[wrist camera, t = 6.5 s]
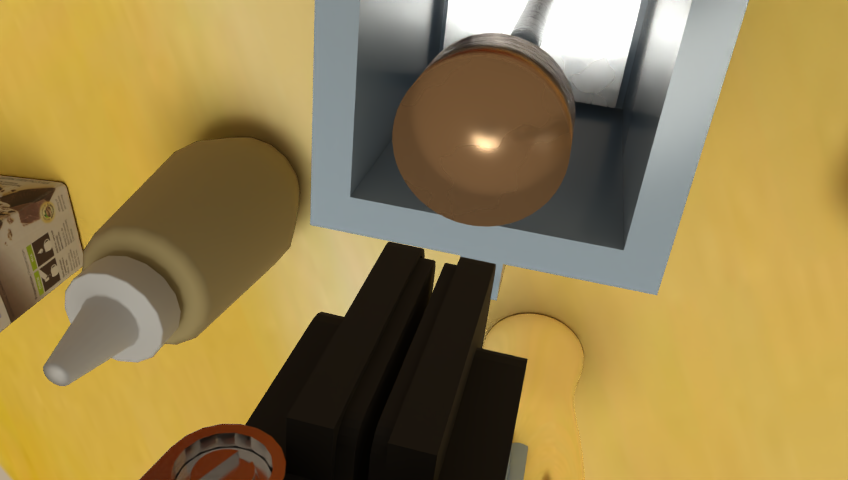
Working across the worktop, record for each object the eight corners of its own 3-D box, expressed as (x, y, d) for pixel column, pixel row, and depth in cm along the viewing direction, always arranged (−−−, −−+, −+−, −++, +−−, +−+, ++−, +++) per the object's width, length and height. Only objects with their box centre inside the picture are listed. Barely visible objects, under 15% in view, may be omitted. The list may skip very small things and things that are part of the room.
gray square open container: (714, -134, 31) (781, -106, 18) (630, 183, 38) (636, 361, 26) (435, -166, 33) (318, -162, 20) (407, 143, 40) (309, 290, 27)
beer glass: (460, 318, 45) (398, 512, 32) (572, 295, 42) (552, 497, 30) (498, 405, 48) (454, 617, 35) (605, 389, 45) (600, 611, 32)
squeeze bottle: (317, 253, 45) (162, 473, 30) (194, 227, 46) (-15, 426, 31) (321, 130, 41) (143, 311, 26) (186, 105, 42) (-60, 264, 27)
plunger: (661, -89, 31) (704, -4, 15) (615, 102, 35) (613, 320, 20) (464, -114, 32) (320, -59, 17) (443, 74, 36) (312, 257, 21)
